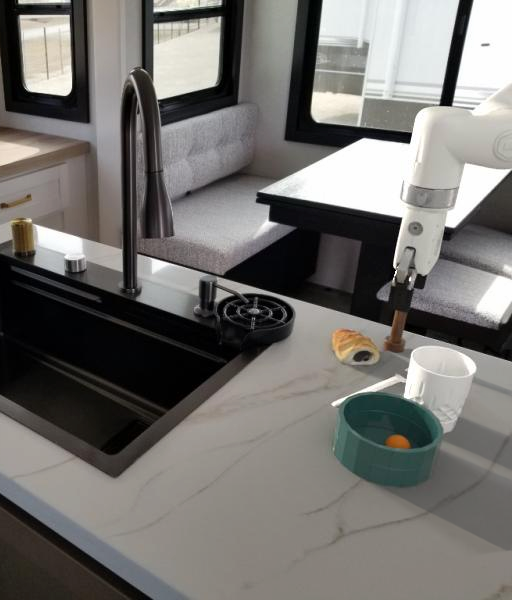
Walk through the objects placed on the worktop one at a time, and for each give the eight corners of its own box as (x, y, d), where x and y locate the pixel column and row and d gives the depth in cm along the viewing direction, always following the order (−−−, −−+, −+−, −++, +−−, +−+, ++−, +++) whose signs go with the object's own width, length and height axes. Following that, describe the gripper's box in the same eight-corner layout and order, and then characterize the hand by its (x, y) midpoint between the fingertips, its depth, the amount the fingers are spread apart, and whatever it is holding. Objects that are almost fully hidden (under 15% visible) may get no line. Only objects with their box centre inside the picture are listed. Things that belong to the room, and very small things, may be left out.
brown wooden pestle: (398, 345, 108) (415, 269, 101) (406, 355, 105) (424, 278, 98) (379, 345, 108) (395, 269, 101) (387, 355, 105) (404, 278, 98)
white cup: (461, 414, 90) (478, 354, 86) (455, 446, 84) (474, 383, 80) (401, 398, 94) (415, 340, 89) (392, 427, 88) (407, 366, 83)
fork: (324, 403, 93) (325, 392, 92) (417, 366, 102) (419, 356, 101) (340, 415, 91) (342, 404, 90) (435, 376, 99) (437, 366, 98)
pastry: (321, 339, 110) (325, 319, 108) (360, 338, 110) (364, 318, 108) (341, 369, 101) (345, 348, 100) (383, 367, 101) (387, 347, 100)
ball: (383, 442, 80) (407, 453, 79) (392, 426, 82) (416, 437, 80) (379, 456, 82) (402, 467, 81) (387, 440, 84) (411, 451, 82)
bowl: (398, 423, 89) (407, 387, 86) (453, 484, 78) (465, 445, 75) (316, 432, 87) (322, 396, 85) (361, 496, 77) (369, 457, 74)
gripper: (443, 215, 86) (417, 326, 93) (467, 184, 98) (442, 284, 106) (385, 205, 90) (365, 313, 97) (415, 176, 102) (395, 274, 110)
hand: (405, 298), depth 102 cm, fingers open, 9 cm apart
